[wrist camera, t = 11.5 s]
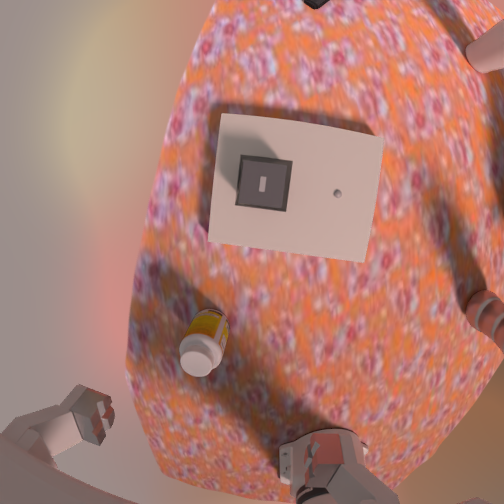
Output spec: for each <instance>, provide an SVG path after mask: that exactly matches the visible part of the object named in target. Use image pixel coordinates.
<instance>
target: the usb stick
mask: <svg viewBox="0 0 504 504" xmlns="http://www.w3.org/2000/svg"><path fill="white" fill-rule="evenodd" d="M328 1H329V0H304V3H305V4H306V5H308V6H309V7H311V8H312V9H318V8H320V7H321V6H323V5H324V4H325V3H327V2H328Z"/></svg>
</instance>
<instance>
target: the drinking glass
mask: <svg viewBox="0 0 504 504" xmlns="http://www.w3.org/2000/svg"><path fill="white" fill-rule="evenodd" d="M466 57H467V59H468V61H469V63H470V65H471V66H472V67H473V68H474V69H475V70H476V71H478V72H480V73H488V72H491V71H494V70H499V69H503V68H504V19H503V20H501V21H500V22H498V23H497V24H496V25H494V26H493V27H492V28H491V29H489V30H488V31H487V32H485V33H484V34H483V35H481V36H480V37H479V38H478V39H476V40H475V41H473V42H472V43H470V44H468V45H467V47H466Z"/></svg>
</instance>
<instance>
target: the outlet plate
mask: <svg viewBox="0 0 504 504" xmlns="http://www.w3.org/2000/svg"><path fill="white" fill-rule="evenodd" d="M383 145H384V138H381V137H377V136H373V135H369V134H364V133H360V132H355V131H350V130H345V129H340V128H335V127H330V126H324V125H318V124H312V123H306V122H300V121H293V120H285V119H278V118H269V117H260V116H250V115H239V114H226V113H222V114H221V121H220V129H219V137H218V145H217V154H216V163H215V172H214V181H213V190H212V200H211V211H210V222H209V233H208V242H214V243H222V244H229V245H237V246H244V247H252V248H259V249H267V250H274V251H281V252H289V253H296V254H303V255H311V256H318V257H325V258H333V259H340V260H347V261H354V262H362V263H364V261H365V256H366V252H367V247H368V242H369V237H370V232H371V226H372V221H373V215H374V210H375V204H376V197H377V191H378V184H379V177H380V170H381V162H382V154H383ZM243 160H247V161H256V162H264V163H272V164H280V165H287V171H286V179H285V186H284V194H283V201H282V208H275V207H268V206H260V205H252V204H244V203H239V194H240V186H241V177H242V169H243Z"/></svg>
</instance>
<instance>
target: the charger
mask: <svg viewBox="0 0 504 504" xmlns="http://www.w3.org/2000/svg"><path fill="white" fill-rule="evenodd" d="M286 171H287V165H280V164H272V163H264V162H256V161H247V160H243V169H242V177H241V186H240V194H239V203H244V204H252V205H260V206H268V207H275V208H282V201H283V194H284V186H285V179H286Z"/></svg>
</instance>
